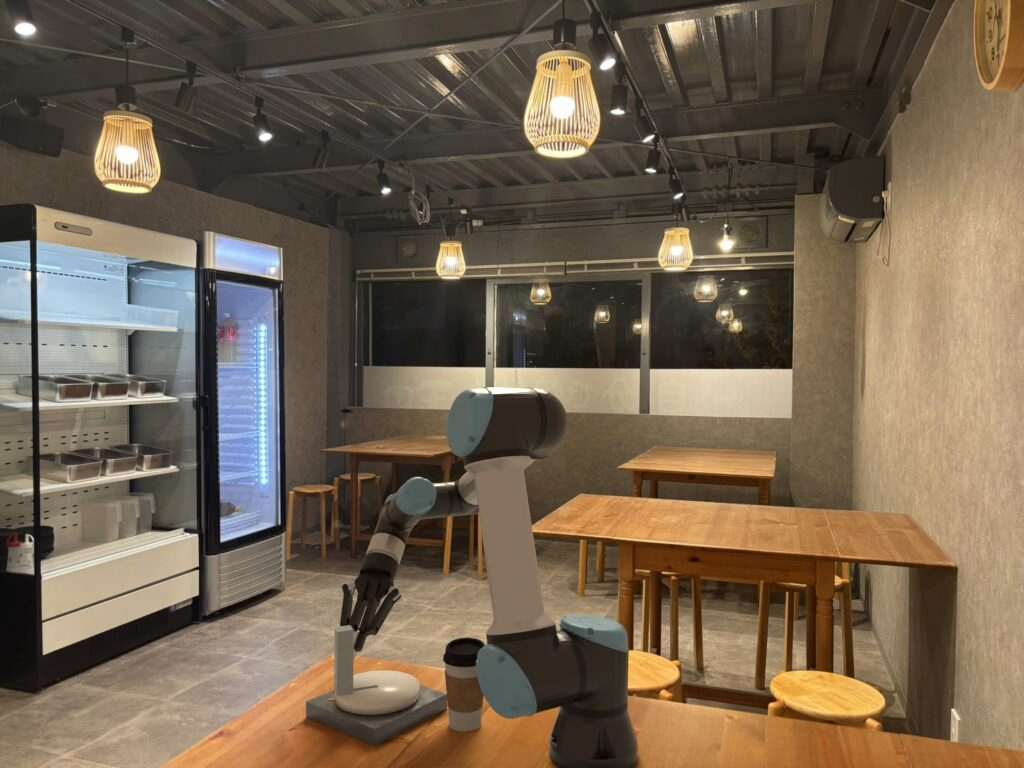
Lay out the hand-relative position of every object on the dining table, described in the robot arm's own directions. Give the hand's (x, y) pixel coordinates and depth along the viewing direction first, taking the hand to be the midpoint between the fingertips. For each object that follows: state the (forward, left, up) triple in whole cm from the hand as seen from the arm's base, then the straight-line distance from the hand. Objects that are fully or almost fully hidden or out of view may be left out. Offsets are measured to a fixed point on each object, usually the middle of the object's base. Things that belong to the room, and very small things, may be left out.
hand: (345, 665), depth 148 cm
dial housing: (-5, -3, -9) cm, 11 cm away
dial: (-5, -3, -6) cm, 8 cm away
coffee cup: (-22, -10, -9) cm, 26 cm away
